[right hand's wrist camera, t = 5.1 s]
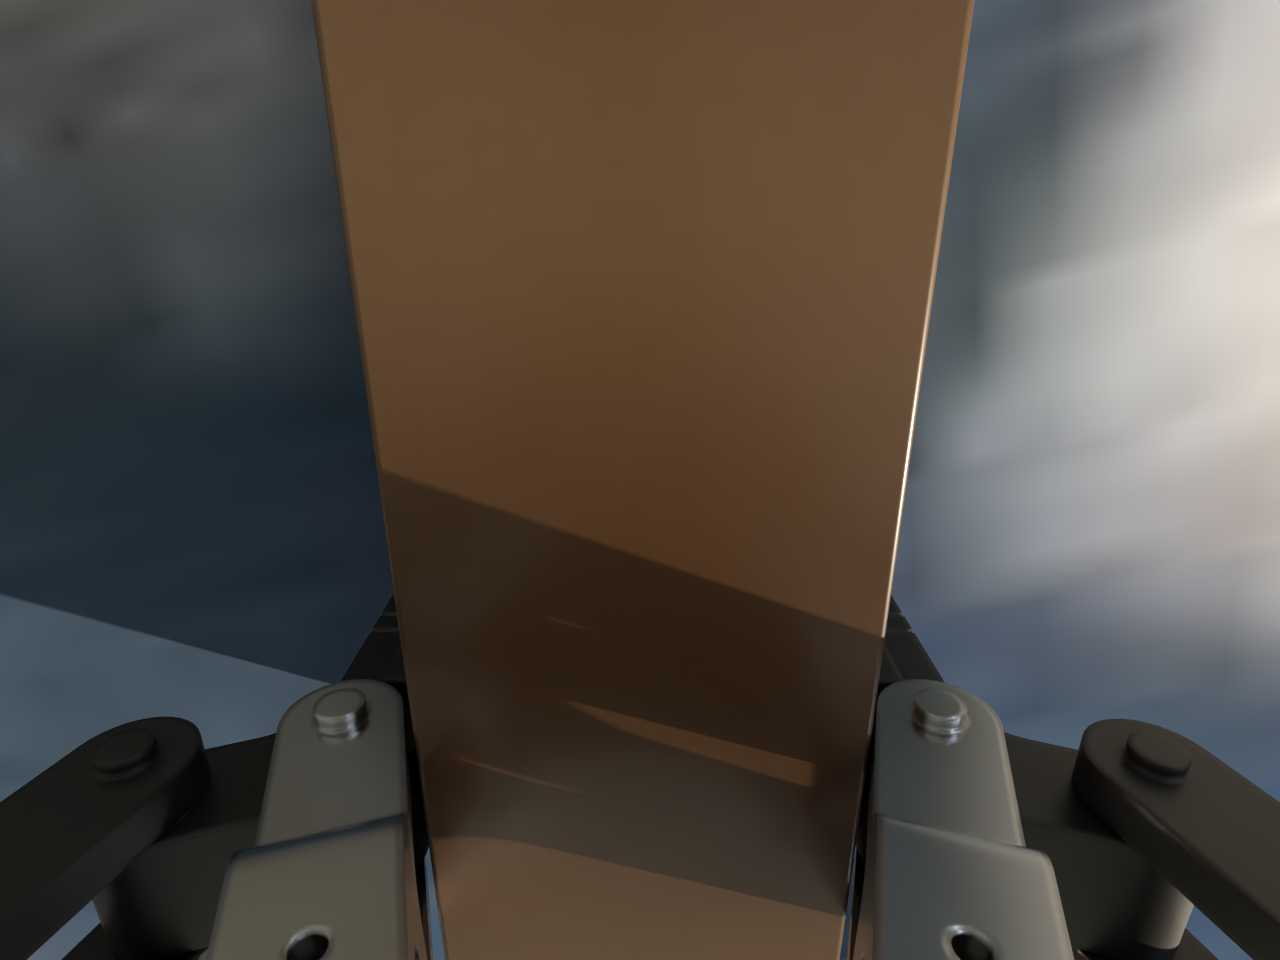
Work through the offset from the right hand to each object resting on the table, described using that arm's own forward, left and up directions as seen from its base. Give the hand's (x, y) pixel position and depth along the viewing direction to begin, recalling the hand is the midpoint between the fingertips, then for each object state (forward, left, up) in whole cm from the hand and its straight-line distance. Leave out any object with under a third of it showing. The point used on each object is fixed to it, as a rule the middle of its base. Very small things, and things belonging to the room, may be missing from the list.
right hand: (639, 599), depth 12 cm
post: (+24, -27, -2) cm, 37 cm away
